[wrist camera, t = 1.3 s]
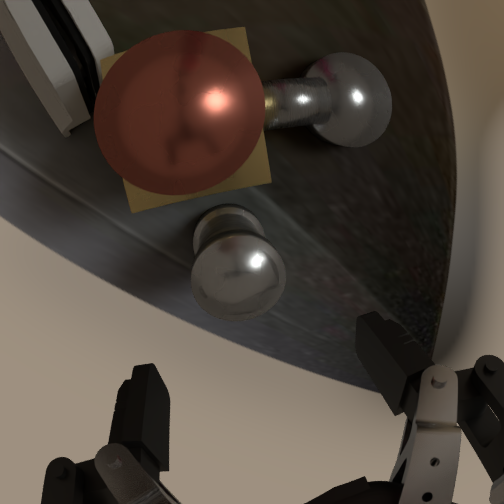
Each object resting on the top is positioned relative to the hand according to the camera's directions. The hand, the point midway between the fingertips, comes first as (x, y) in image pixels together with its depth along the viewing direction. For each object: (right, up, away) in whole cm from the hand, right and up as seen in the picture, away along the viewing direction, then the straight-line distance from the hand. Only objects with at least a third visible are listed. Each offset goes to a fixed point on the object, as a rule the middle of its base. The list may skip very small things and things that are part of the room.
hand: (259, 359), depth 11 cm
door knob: (-2, +5, +12) cm, 13 cm away
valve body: (+1, +14, +8) cm, 16 cm away
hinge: (-15, +20, +3) cm, 26 cm away
